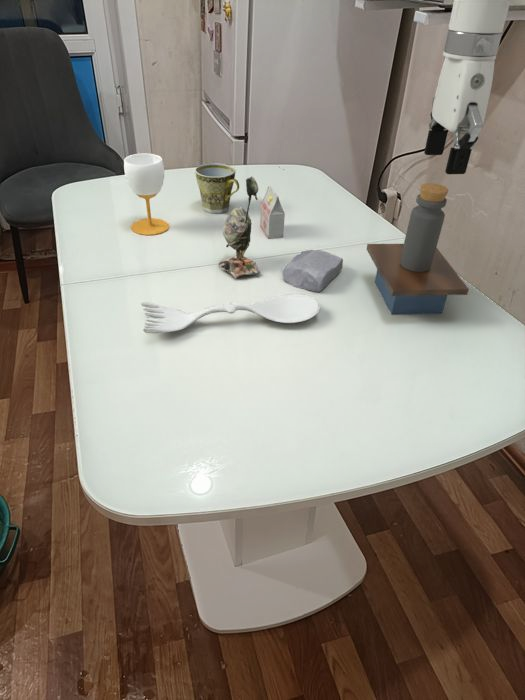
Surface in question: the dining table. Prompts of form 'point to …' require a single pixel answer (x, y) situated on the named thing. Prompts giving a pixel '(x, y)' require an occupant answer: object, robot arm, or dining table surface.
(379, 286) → the box
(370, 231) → the dining table surface
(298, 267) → the stone block
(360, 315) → the dining table surface
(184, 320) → the spoon
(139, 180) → the cup
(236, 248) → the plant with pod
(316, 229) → the dining table surface
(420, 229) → the bottle
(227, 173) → the ceramic cup
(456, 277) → the board
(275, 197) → the milk carton
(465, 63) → the robot arm
